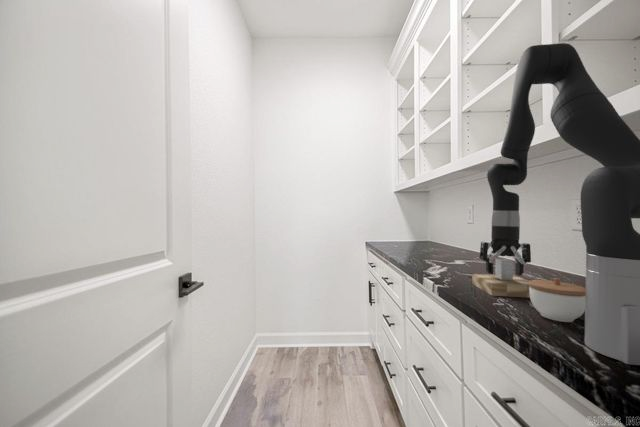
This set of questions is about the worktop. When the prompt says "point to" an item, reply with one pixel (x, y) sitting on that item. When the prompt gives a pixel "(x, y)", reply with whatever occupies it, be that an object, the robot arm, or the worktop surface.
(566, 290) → the lidded jar
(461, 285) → the worktop surface
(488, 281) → the well block
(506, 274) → the grey rectangular block
